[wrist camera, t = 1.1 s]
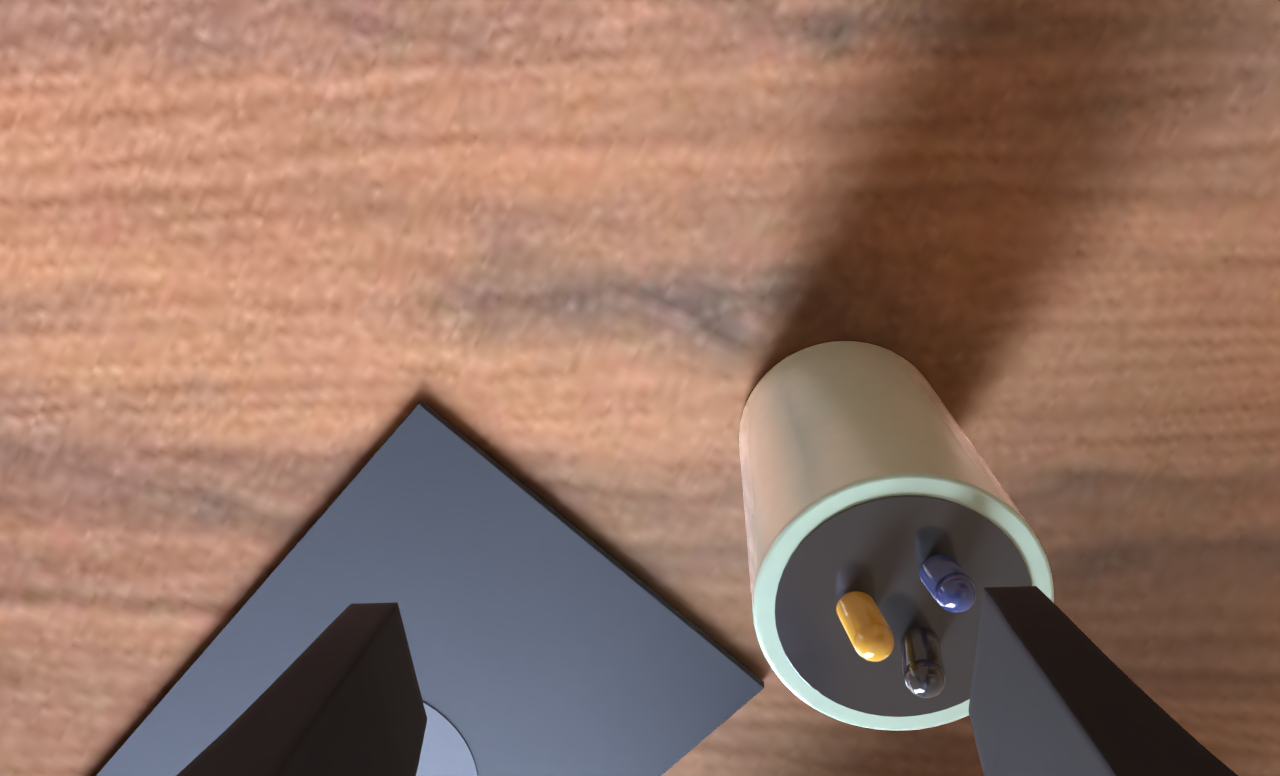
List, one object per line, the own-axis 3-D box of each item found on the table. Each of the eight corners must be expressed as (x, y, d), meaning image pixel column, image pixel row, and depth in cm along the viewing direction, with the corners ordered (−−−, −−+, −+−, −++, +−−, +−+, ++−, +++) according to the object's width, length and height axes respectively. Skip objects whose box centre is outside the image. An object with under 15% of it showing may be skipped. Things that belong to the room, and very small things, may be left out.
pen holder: (985, 432, 24) (1157, 655, 15) (837, 562, 26) (910, 837, 17) (841, 298, 24) (928, 445, 14) (697, 440, 25) (690, 658, 16)
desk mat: (764, 681, 27) (764, 689, 27) (341, 1043, 34) (337, 1052, 33) (421, 399, 25) (418, 403, 25) (38, 841, 32) (31, 849, 31)
